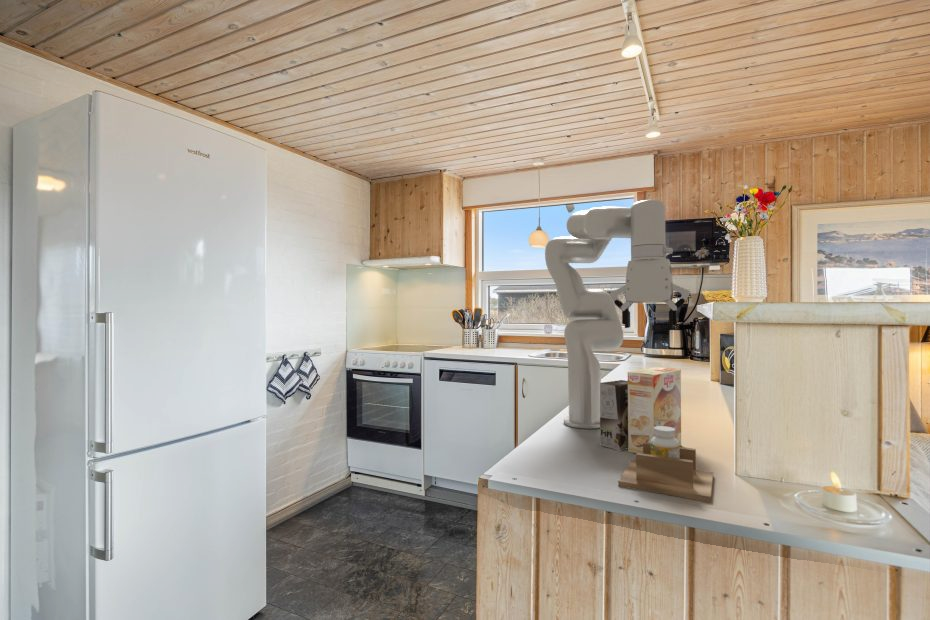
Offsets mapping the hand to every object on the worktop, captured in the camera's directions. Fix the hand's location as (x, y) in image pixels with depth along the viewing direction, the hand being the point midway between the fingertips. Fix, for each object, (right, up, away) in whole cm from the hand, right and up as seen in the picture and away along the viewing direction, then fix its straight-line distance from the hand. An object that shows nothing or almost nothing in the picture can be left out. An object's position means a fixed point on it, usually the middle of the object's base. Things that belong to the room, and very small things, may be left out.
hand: (649, 327), depth 106 cm
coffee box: (-3, -31, +10) cm, 32 cm away
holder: (-2, -30, -15) cm, 34 cm away
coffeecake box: (+4, -31, +7) cm, 32 cm away
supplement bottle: (-3, -30, -14) cm, 33 cm away
